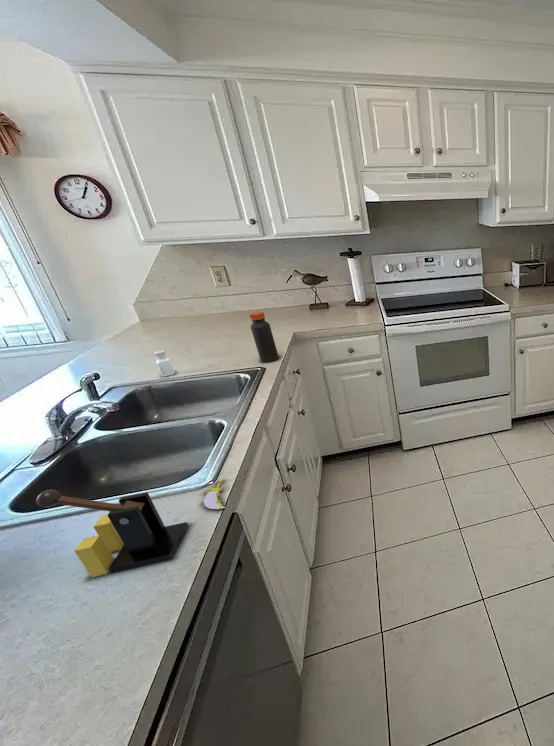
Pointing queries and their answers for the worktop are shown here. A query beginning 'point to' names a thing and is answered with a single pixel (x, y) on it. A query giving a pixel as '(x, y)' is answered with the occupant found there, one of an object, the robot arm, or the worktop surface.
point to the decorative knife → (213, 497)
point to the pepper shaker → (164, 363)
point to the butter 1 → (108, 534)
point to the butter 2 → (95, 556)
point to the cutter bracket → (143, 534)
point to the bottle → (263, 337)
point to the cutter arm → (81, 502)
